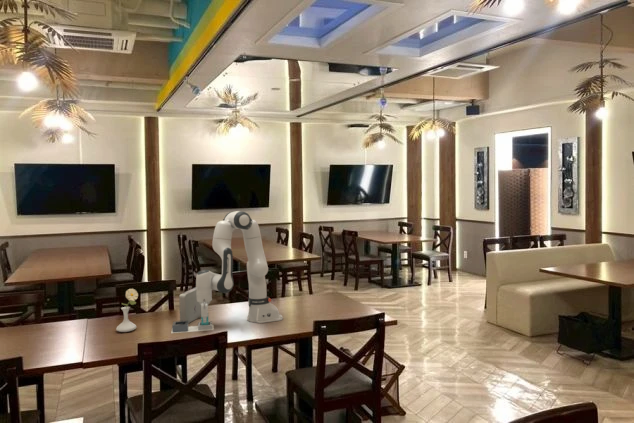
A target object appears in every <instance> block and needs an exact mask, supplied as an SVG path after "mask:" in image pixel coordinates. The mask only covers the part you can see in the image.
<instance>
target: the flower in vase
mask: <svg viewBox="0 0 634 423" xmlns="http://www.w3.org/2000/svg"><path fill="white" fill-rule="evenodd" d="M138 297H139V293H138V291H137V290H136V289H134V288H129V289H127V290H126V291H125V298H126V299H127V300H128V302H127V303H123V302H121V305H123V306H124V307H123V306H122V307H120V309H121V310H122V312H123V320H122V322H120V323H119V325H117V326H116V329H115V331H117V332H120V333H126V332H128V333H129V332H131V331H134V330H135V329H137V325H136V324H135V323H133V321H130V319H129V312H130V311H129V310H130V308H131V306H129V305H132V306H134V305H136V304H137V302H136V300H137V299H139V298H138Z"/></svg>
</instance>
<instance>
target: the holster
mask: <svg viewBox="0 0 634 423" xmlns="http://www.w3.org/2000/svg"><path fill="white" fill-rule="evenodd" d="M208 323H209V325H202V324H201V321H199V322H197V326H198V330H207V331H210V330H209V329H212V325H213V321H210V320H209V321H208Z"/></svg>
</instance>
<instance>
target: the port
mask: <svg viewBox="0 0 634 423" xmlns="http://www.w3.org/2000/svg"><path fill="white" fill-rule="evenodd" d="M188 327H189V323H188V321H180V320H178V321H173V322H172V328H171V331H172V330H173V332H182V333H187V332H186V331H188Z"/></svg>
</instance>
